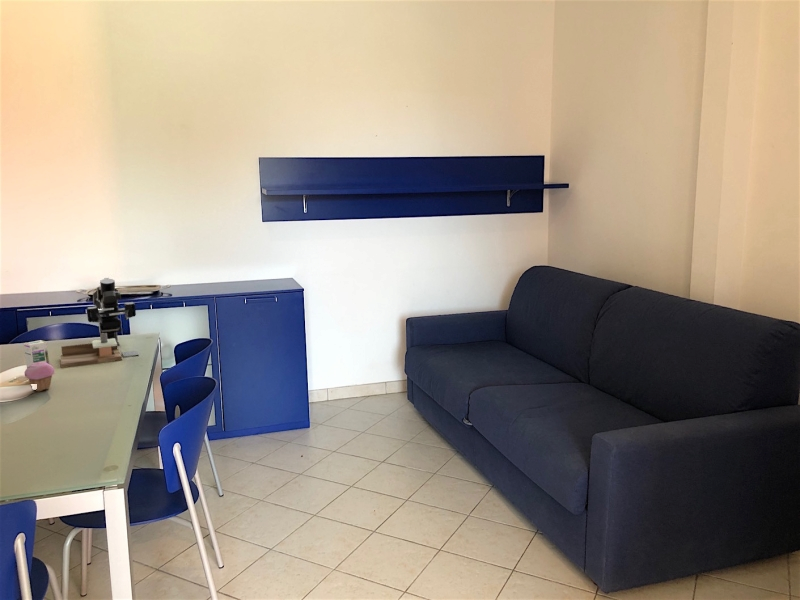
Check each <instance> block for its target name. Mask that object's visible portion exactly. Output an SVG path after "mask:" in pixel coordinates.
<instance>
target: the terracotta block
mask: <svg viewBox="0 0 800 600" xmlns="http://www.w3.org/2000/svg"><path fill="white" fill-rule="evenodd" d="M99 354H100V356H109V355H112V350H111V347H102V348H99Z"/></svg>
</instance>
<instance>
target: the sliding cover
mask: <svg viewBox="0 0 800 600" xmlns="http://www.w3.org/2000/svg"><path fill="white" fill-rule="evenodd" d="M99 335H100V336H99V337H100V339H95V340H91V343H92V345H93V348H102V347H111V346H117V342H116V340H115V338H112V339H107V333H101V334H100V333H99ZM117 347H118V346H117Z"/></svg>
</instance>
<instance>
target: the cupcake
mask: <svg viewBox="0 0 800 600" xmlns="http://www.w3.org/2000/svg"><path fill="white" fill-rule="evenodd" d="M54 374H55V368H54V367H53V365H51V364H50V363H49V364H48V363H46V362H37V363H33V364H31V365H30V366H29V367H28V368H27V367H26V369H25V371H24V377H25V378H27V379H29V380H28V381H29V384H37V389H36V391H35V392H42V391H44V390H49V389H50V387H51V383H52V378H53V375H54Z"/></svg>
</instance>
